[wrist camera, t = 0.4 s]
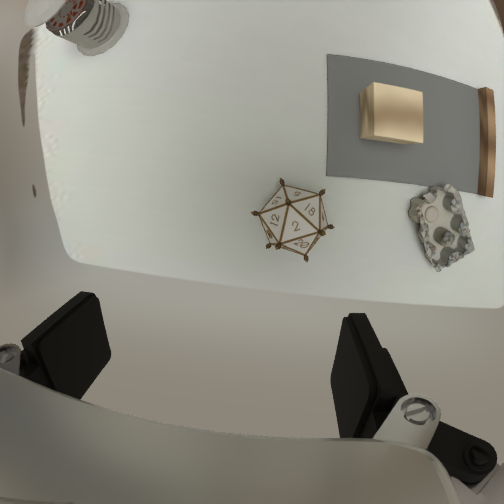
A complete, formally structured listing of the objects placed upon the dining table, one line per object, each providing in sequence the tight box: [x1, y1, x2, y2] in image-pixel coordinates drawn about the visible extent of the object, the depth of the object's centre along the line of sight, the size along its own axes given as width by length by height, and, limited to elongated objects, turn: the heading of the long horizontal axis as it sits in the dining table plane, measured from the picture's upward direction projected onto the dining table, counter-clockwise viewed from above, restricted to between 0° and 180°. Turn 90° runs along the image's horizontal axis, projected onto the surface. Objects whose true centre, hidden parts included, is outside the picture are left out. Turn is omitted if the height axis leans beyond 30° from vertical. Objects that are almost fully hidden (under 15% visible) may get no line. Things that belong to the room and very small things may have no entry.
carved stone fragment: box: [408, 184, 474, 272], centre depth 33 cm, size 11×8×4 cm
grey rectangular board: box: [326, 54, 480, 194], centre depth 32 cm, size 16×24×1 cm
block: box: [359, 82, 423, 144], centre depth 29 cm, size 6×6×6 cm
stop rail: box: [477, 87, 496, 198], centre depth 30 cm, size 16×2×2 cm, turn 179°
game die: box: [251, 178, 335, 262], centre depth 33 cm, size 9×8×10 cm
